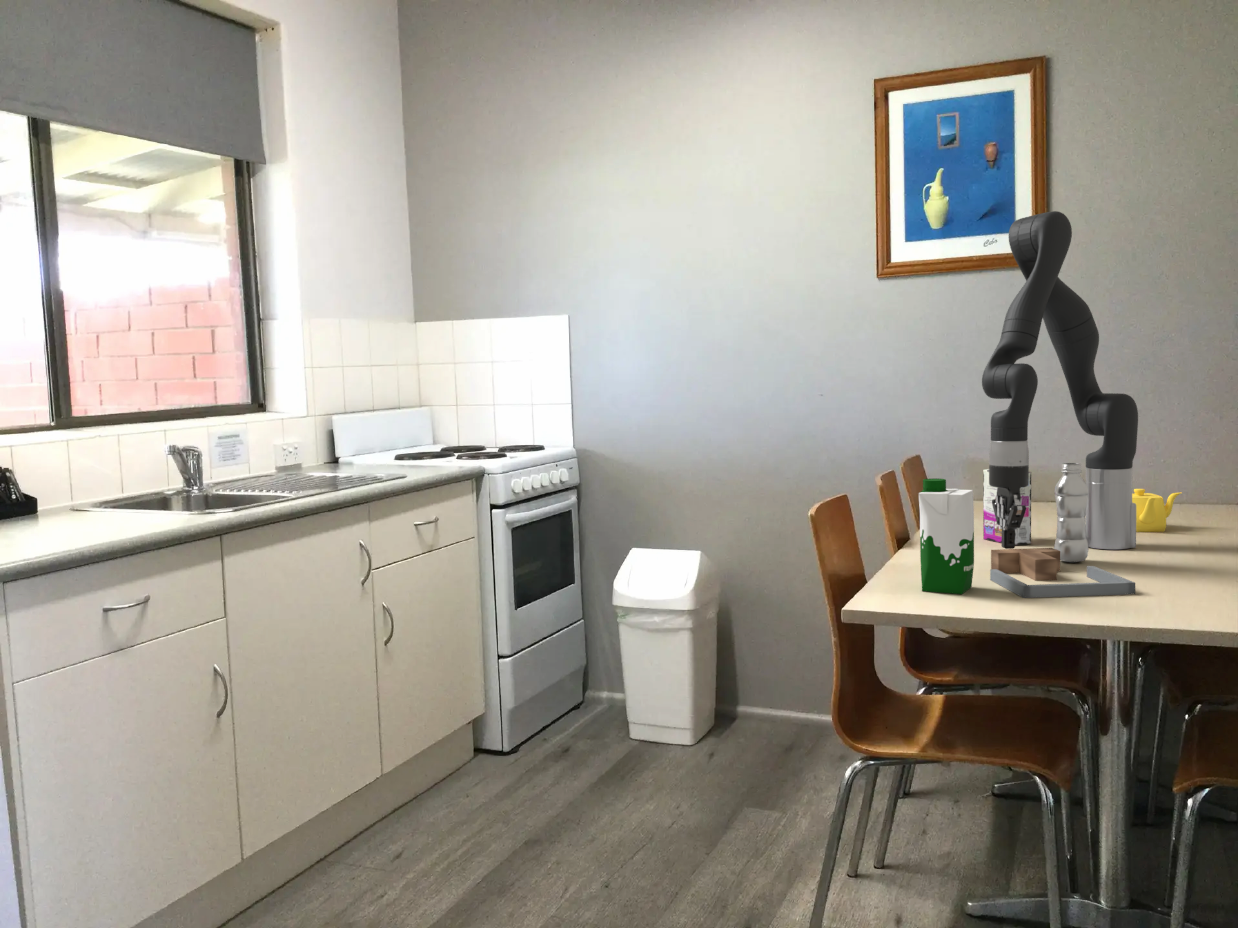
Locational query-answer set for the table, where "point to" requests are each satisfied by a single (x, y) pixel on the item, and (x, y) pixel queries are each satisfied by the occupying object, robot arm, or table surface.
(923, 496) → the soya milk
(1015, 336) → the robot arm
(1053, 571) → the t block
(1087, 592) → the bay frame
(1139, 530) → the teapot
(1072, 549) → the plastic bottle
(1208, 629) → the table surface
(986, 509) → the candy bar box
